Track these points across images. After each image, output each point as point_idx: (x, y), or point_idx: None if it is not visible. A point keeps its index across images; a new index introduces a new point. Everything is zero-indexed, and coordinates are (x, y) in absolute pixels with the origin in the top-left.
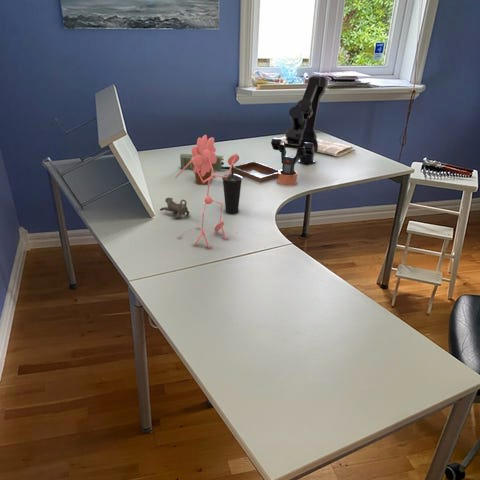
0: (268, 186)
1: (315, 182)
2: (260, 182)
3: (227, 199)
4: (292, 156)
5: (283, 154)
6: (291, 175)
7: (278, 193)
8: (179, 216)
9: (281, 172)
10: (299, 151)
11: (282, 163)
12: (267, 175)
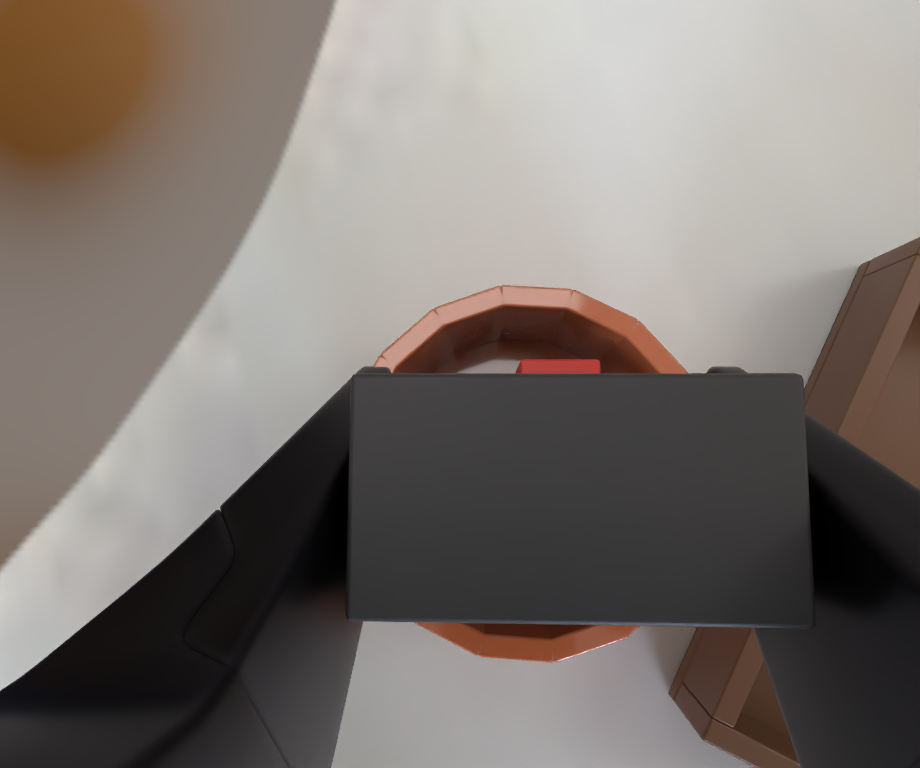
0: (713, 226)
1: None
2: (871, 262)
3: None
4: (449, 553)
5: (872, 532)
6: (410, 329)
7: (500, 47)
8: None
9: None
10: (10, 726)
11: None
12: (868, 403)
